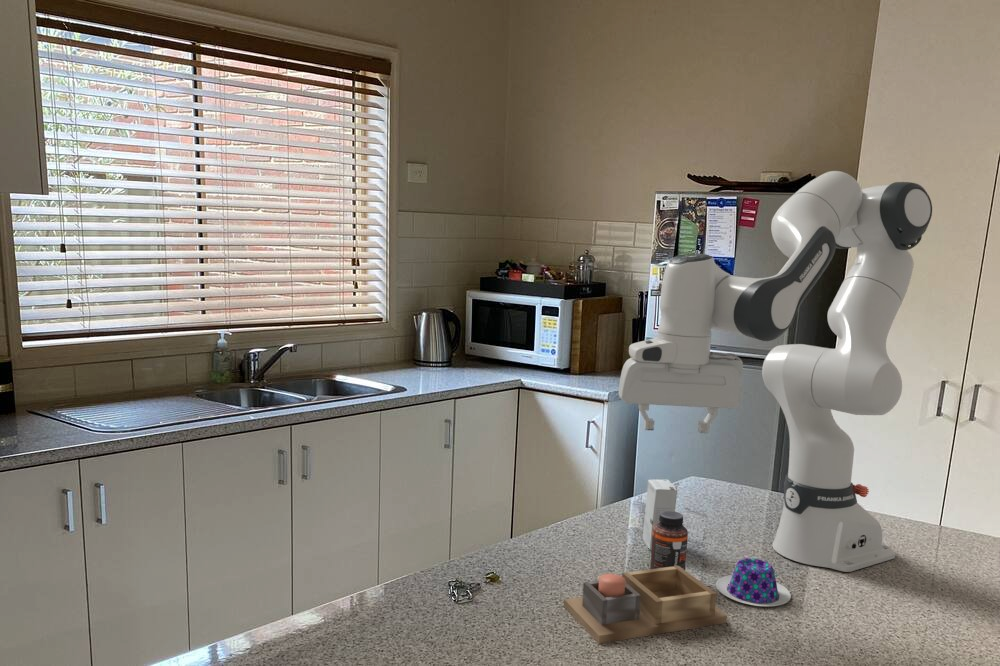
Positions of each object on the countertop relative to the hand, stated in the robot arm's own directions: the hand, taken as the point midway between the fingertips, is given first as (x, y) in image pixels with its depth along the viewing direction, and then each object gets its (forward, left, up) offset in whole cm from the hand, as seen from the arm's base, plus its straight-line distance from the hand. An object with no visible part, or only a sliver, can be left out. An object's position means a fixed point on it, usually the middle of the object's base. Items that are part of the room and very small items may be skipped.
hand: (675, 431), depth 141 cm
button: (+17, +12, -23) cm, 31 cm away
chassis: (+11, +12, -26) cm, 30 cm away
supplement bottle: (0, +1, -26) cm, 26 cm away
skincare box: (-6, -12, -26) cm, 29 cm away
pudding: (-11, +10, -26) cm, 30 cm away
